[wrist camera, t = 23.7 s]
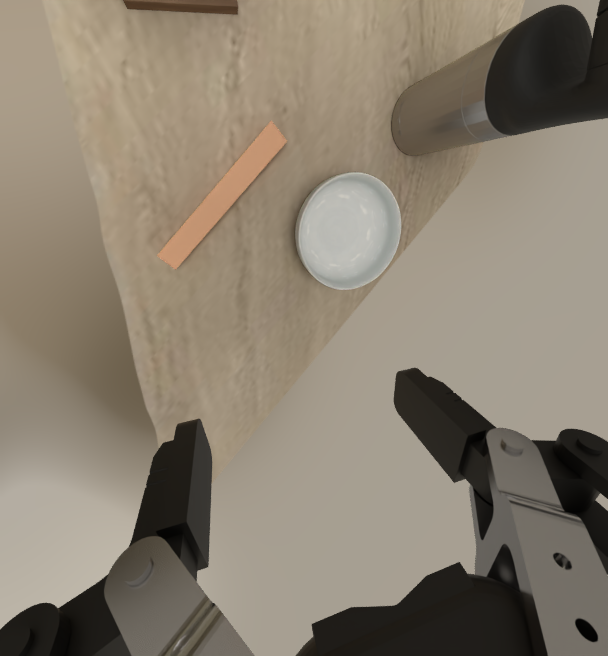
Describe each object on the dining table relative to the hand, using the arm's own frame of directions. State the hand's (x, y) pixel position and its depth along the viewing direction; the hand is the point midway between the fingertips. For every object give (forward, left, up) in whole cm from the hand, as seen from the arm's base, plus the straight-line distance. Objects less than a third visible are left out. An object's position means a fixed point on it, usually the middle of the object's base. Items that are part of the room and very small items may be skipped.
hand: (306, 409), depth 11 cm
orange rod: (+2, -7, -38) cm, 39 cm away
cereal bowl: (-16, -1, -38) cm, 42 cm away
